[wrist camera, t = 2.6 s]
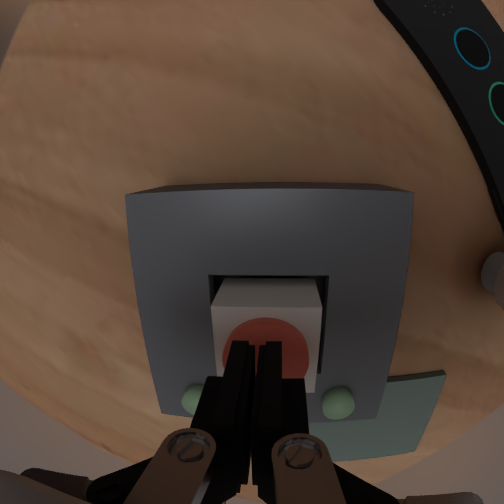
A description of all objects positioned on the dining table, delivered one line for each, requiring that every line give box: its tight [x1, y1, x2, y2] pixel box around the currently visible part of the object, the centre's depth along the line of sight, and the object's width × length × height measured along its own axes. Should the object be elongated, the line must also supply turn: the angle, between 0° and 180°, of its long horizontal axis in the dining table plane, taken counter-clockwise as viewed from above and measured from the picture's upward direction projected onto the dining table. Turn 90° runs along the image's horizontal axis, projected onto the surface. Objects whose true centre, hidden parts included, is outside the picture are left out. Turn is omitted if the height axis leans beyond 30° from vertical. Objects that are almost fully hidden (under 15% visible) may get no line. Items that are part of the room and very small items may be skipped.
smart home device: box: [374, 0, 504, 231], centre depth 14 cm, size 8×2×20 cm
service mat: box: [309, 370, 446, 462], centre depth 21 cm, size 12×9×1 cm
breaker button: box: [211, 278, 322, 393], centre depth 13 cm, size 4×4×4 cm
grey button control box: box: [125, 182, 414, 423], centre depth 16 cm, size 12×12×6 cm
